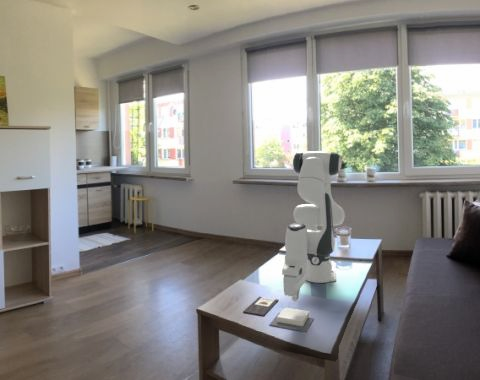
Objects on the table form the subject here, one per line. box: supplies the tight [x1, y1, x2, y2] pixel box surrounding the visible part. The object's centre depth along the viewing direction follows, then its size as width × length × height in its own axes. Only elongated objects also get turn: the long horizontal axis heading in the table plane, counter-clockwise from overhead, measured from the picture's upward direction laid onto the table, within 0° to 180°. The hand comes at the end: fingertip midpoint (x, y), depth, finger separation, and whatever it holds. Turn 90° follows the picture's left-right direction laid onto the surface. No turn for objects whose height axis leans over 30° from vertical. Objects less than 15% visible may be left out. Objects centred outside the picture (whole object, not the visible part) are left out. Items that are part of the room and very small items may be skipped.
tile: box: [276, 307, 310, 326], centre depth 148 cm, size 2×10×10 cm
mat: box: [269, 312, 314, 333], centre depth 146 cm, size 12×14×1 cm
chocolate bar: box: [242, 296, 279, 317], centre depth 162 cm, size 9×1×18 cm
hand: (295, 299), depth 150 cm, fingers closed
